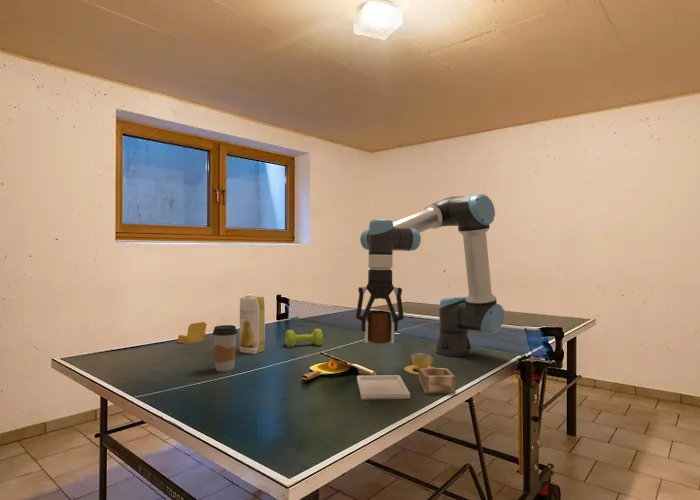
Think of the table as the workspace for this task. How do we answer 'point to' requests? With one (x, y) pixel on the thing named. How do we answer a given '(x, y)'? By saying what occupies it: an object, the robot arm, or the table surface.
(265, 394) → the table surface
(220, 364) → the coffee cup
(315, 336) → the dumbbell
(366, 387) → the tray
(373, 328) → the mug
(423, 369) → the oak box
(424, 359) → the cup
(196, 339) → the yellow stepped piece
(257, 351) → the juice carton
